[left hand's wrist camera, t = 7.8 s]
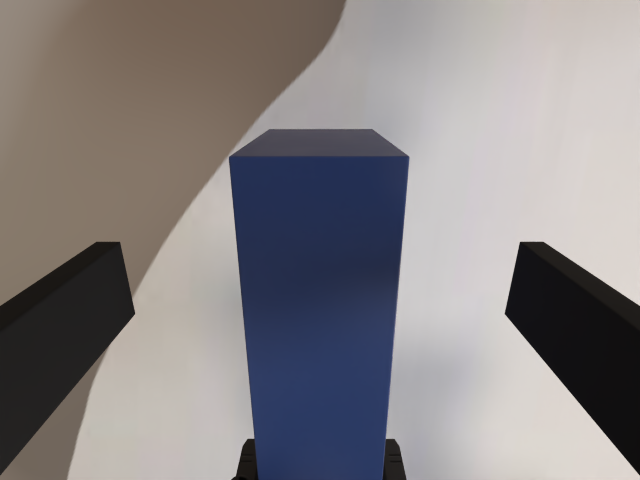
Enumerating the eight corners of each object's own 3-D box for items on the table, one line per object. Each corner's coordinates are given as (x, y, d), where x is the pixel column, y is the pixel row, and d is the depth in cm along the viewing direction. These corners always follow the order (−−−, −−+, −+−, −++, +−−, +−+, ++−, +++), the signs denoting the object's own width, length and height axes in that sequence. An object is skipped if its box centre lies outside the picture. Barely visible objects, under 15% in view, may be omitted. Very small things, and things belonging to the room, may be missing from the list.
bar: (268, 129, 20) (228, 156, 11) (372, 129, 20) (409, 156, 11) (284, 443, 28) (268, 593, 20) (357, 443, 28) (372, 594, 20)
